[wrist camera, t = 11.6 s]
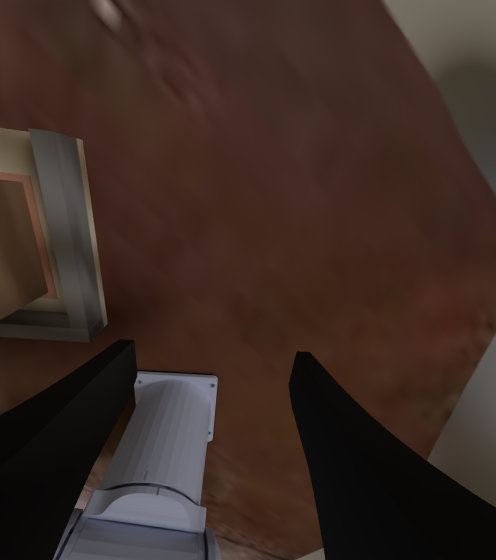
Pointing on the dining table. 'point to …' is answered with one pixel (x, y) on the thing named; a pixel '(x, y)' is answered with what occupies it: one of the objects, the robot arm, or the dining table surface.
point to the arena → (56, 236)
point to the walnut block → (18, 251)
